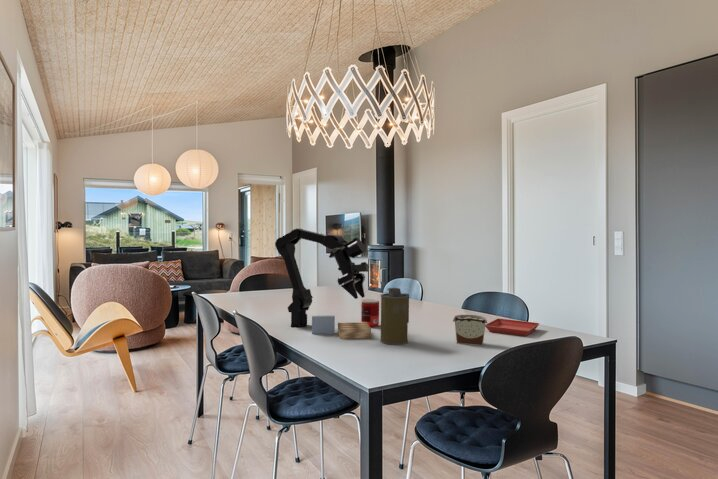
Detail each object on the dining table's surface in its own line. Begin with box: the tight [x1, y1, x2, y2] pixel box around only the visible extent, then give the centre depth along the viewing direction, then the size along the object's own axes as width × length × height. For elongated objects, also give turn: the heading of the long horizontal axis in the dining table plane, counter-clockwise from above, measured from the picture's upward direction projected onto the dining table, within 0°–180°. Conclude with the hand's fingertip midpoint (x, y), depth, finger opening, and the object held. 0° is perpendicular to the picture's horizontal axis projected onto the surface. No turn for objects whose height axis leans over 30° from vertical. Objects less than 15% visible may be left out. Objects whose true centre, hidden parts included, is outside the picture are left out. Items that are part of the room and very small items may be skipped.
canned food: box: [360, 298, 380, 328], centre depth 206 cm, size 8×8×11 cm
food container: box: [452, 314, 488, 347], centre depth 176 cm, size 12×6×10 cm, turn 71°
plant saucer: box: [485, 318, 540, 337], centre depth 198 cm, size 18×18×3 cm
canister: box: [379, 287, 410, 346], centre depth 177 cm, size 11×10×20 cm
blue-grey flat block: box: [311, 315, 336, 335], centre depth 190 cm, size 9×2×7 cm, turn 97°
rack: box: [337, 321, 372, 340], centre depth 187 cm, size 12×12×4 cm
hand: (360, 297), depth 191 cm, fingers open, 9 cm apart
